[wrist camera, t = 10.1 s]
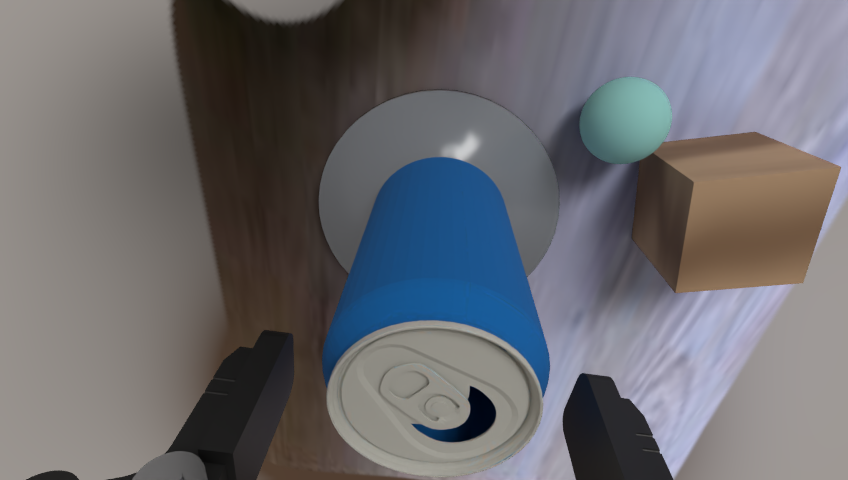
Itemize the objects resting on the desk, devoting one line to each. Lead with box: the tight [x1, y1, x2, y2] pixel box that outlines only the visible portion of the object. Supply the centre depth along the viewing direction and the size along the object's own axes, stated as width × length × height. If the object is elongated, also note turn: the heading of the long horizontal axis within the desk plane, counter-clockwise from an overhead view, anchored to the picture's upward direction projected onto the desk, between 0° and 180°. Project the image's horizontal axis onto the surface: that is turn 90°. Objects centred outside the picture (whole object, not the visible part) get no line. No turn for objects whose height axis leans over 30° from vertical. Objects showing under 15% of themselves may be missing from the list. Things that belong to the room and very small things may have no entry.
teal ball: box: [579, 77, 672, 164], centre depth 18 cm, size 4×4×4 cm
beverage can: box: [322, 157, 550, 477], centre depth 17 cm, size 6×6×12 cm
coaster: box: [319, 89, 560, 277], centre depth 22 cm, size 12×12×1 cm
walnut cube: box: [632, 132, 841, 293], centre depth 19 cm, size 5×5×5 cm
